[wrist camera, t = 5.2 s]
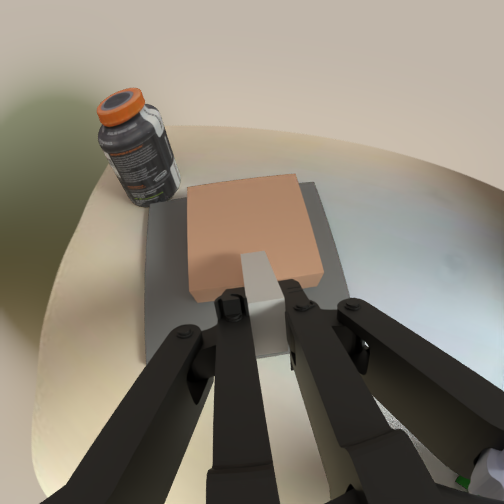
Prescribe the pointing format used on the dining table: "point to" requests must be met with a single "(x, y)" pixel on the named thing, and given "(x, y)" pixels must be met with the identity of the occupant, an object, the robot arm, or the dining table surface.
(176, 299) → the mat
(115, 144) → the pill bottle
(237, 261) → the tile
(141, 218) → the dining table surface
